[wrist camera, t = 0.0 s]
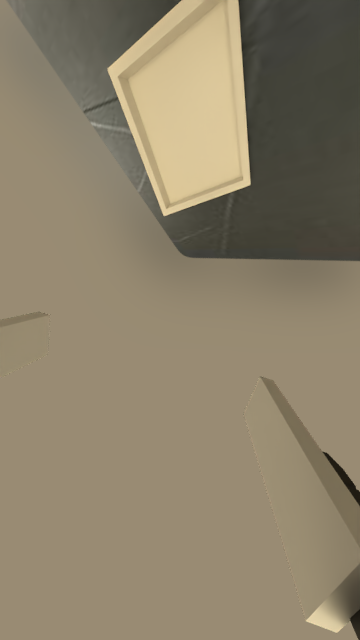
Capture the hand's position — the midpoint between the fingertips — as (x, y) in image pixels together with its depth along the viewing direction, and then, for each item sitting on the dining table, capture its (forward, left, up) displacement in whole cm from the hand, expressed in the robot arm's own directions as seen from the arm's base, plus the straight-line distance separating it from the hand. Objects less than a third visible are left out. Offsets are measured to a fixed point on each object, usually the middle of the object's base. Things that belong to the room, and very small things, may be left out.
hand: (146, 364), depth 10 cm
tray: (-9, -2, -36) cm, 37 cm away
